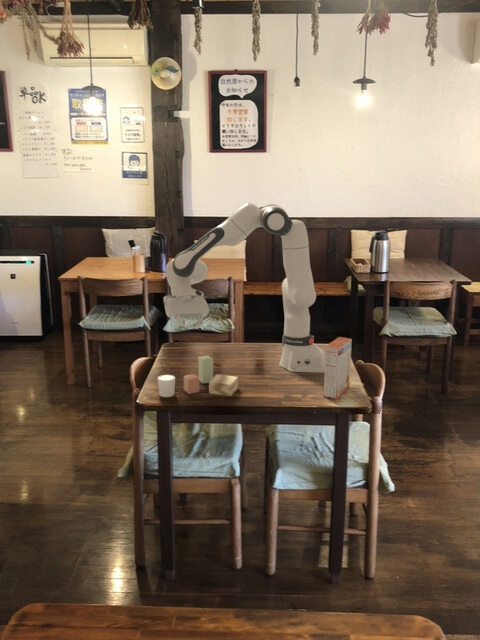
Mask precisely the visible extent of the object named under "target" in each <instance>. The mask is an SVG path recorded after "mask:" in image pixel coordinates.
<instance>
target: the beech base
mask: <svg viewBox="0 0 480 640" xmlns="http://www.w3.org/2000/svg"><path fill="white" fill-rule="evenodd" d="M238 389H239V376H235V375H234V376H233V375H226V374H218V373H216V374H215V375H213V378H212V379H211V380H210V381H209V383H208V394H211V395H216V396H217V395H218V396H227V397H231V396H232V395H234V393H235V392H236V391H237V390H238Z"/></svg>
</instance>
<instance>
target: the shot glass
mask: <svg viewBox="0 0 480 640" xmlns="http://www.w3.org/2000/svg"><path fill="white" fill-rule="evenodd" d="M157 386H158V395H159V397H162V398H171V397H173V396H175V387H176V376H175V375H173V374H161V375H158V376H157Z"/></svg>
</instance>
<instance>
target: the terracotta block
mask: <svg viewBox="0 0 480 640" xmlns="http://www.w3.org/2000/svg"><path fill="white" fill-rule="evenodd" d="M183 391H184V392H186V393H187V395H190V394H195V393H196V394H197V393H200V381H199V377H198V375H197V374H195V373H192V374H187V375H184V376H183Z"/></svg>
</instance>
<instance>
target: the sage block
mask: <svg viewBox="0 0 480 640" xmlns="http://www.w3.org/2000/svg"><path fill="white" fill-rule="evenodd" d="M197 361H198V363H197V366H198V372H197V373H198V375H197V377H199V383H201V384H209V381H210V380H211V379H212V378H213V377H214V358H213V357H211V356H210V355H203V356H198V358H197Z"/></svg>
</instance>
